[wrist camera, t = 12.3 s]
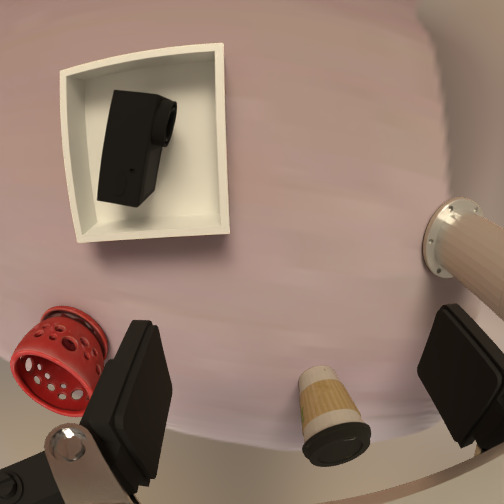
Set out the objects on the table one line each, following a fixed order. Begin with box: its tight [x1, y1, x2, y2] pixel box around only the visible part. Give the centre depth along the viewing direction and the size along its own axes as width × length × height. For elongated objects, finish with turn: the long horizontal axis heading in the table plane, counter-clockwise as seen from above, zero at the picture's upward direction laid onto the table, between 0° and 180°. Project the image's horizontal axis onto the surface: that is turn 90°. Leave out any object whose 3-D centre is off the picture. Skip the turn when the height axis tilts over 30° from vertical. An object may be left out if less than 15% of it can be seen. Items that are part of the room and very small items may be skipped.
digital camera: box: [97, 90, 177, 208], centre depth 27 cm, size 10×5×7 cm, turn 166°
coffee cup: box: [299, 366, 371, 467], centre depth 41 cm, size 10×10×15 cm
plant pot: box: [10, 306, 108, 417], centre depth 35 cm, size 13×13×12 cm
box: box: [60, 43, 230, 243], centre depth 29 cm, size 17×19×6 cm
